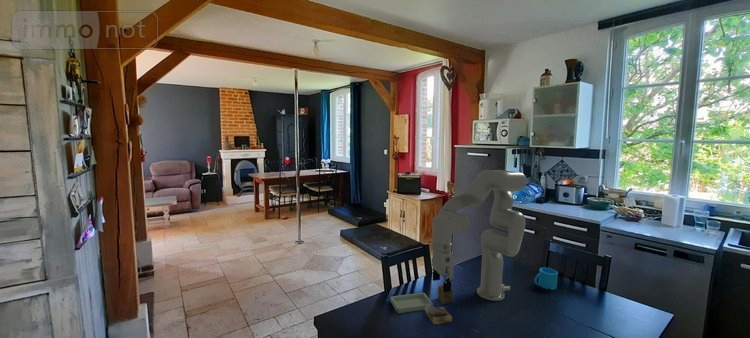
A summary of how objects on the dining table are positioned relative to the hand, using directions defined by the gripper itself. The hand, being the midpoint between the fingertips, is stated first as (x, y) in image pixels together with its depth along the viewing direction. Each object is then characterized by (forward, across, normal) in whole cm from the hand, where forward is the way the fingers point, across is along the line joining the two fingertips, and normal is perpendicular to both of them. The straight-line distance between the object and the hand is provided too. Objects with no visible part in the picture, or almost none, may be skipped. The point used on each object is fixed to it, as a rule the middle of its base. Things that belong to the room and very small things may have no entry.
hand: (441, 285), depth 131 cm
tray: (+14, +12, +9) cm, 20 cm away
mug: (+17, +12, -64) cm, 67 cm away
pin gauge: (+13, 0, -1) cm, 13 cm away
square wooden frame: (+14, 0, +1) cm, 14 cm away
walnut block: (+14, +12, -8) cm, 20 cm away
